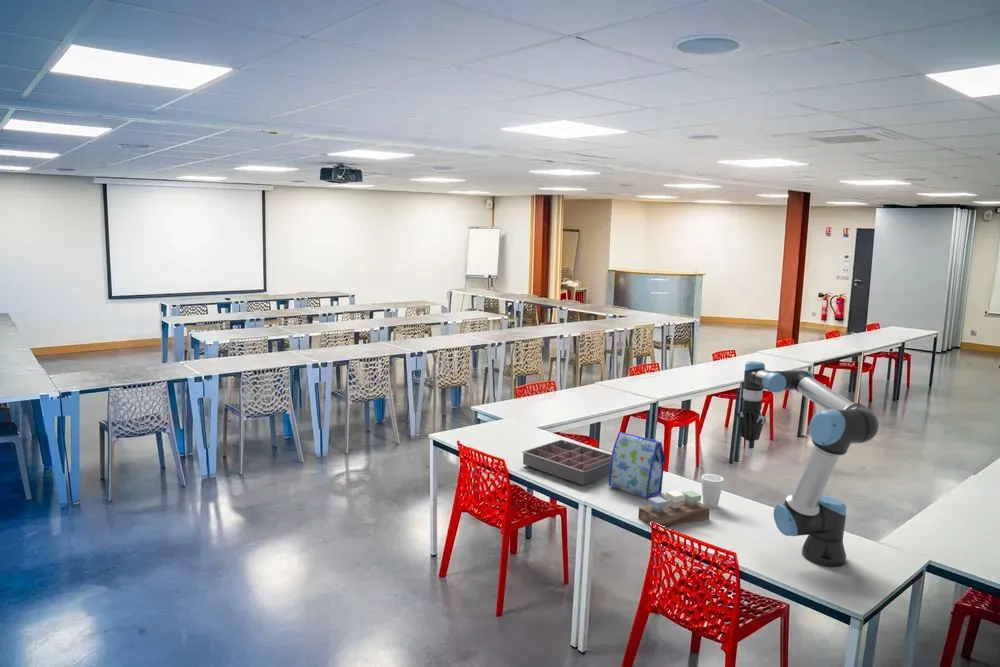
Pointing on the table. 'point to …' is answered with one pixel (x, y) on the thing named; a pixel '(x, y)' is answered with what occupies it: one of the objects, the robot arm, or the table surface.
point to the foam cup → (711, 489)
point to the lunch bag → (637, 465)
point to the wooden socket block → (674, 514)
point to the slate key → (658, 504)
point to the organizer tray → (569, 461)
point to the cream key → (675, 498)
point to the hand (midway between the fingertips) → (748, 455)
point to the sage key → (691, 498)
